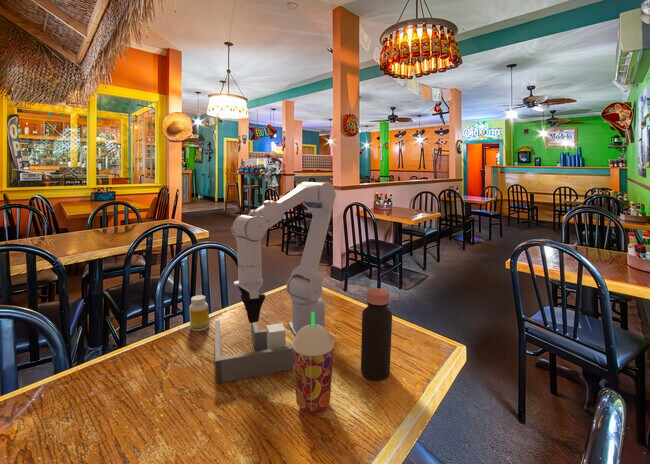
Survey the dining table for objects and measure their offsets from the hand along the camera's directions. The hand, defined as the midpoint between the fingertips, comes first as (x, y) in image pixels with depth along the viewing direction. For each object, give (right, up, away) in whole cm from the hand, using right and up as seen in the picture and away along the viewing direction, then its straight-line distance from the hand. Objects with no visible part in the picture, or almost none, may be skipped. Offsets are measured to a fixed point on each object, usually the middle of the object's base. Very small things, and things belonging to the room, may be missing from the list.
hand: (251, 315), depth 83 cm
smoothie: (+16, -14, -17) cm, 27 cm away
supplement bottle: (-19, -8, +16) cm, 26 cm away
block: (+6, -10, -1) cm, 12 cm away
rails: (-1, -10, +2) cm, 10 cm away
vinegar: (+31, -12, -6) cm, 33 cm away
